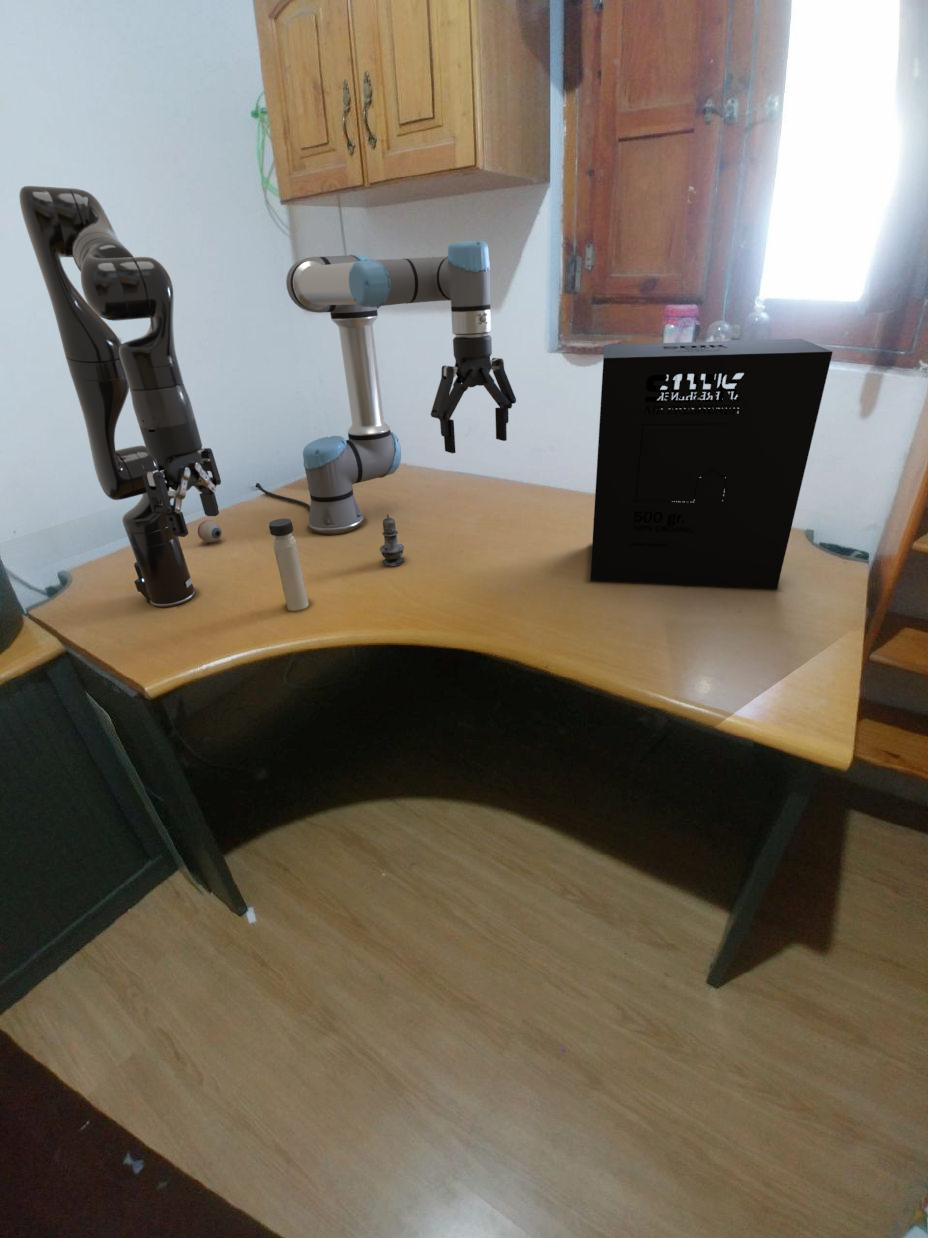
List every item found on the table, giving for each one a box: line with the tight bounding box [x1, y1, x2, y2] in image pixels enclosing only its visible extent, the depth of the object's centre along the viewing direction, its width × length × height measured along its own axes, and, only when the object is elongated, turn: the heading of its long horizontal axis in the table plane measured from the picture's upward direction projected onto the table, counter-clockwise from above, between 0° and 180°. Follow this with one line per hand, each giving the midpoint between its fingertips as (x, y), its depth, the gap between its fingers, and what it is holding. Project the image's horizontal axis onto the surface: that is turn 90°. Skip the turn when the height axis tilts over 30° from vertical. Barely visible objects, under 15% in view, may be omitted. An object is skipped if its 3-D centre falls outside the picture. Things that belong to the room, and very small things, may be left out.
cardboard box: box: [589, 338, 834, 590], centre depth 125 cm, size 38×20×45 cm, turn 78°
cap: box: [268, 517, 294, 537], centre depth 120 cm, size 4×4×2 cm
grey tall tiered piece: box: [379, 514, 405, 567], centre depth 143 cm, size 6×6×12 cm
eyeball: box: [197, 519, 223, 544], centre depth 161 cm, size 6×6×6 cm
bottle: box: [272, 533, 310, 612], centre depth 124 cm, size 5×5×18 cm
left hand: (197, 525), depth 95 cm, fingers open, 8 cm apart
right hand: (476, 445), depth 127 cm, fingers open, 13 cm apart
